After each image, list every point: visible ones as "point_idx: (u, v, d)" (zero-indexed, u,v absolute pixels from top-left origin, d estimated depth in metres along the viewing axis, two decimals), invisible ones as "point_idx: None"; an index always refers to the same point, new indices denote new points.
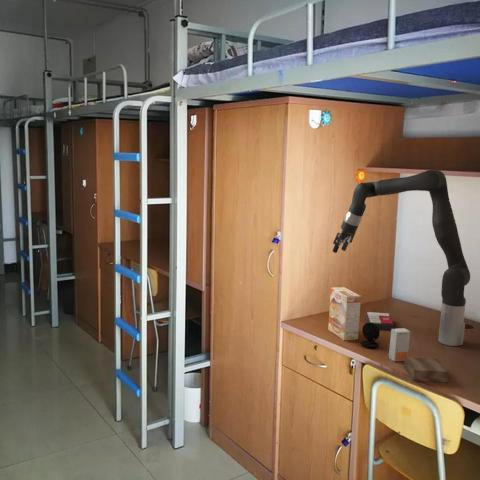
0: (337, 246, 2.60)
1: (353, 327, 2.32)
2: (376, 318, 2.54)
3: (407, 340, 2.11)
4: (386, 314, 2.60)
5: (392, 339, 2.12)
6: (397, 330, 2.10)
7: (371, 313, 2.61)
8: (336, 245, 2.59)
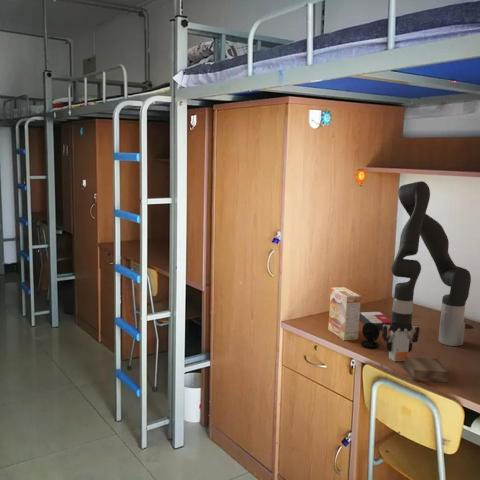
0: None
1: (353, 327, 2.32)
2: (374, 318, 2.54)
3: (407, 340, 2.10)
4: (379, 313, 2.62)
5: None
6: None
7: (365, 313, 2.60)
8: (412, 341, 2.12)
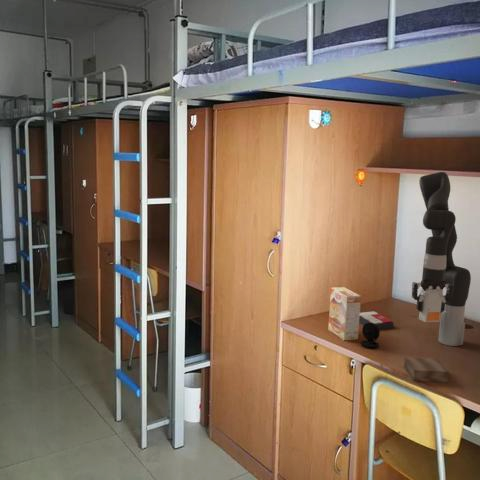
0: None
1: (353, 327, 2.32)
2: (373, 318, 2.54)
3: (439, 299, 1.94)
4: (374, 312, 2.62)
5: None
6: None
7: (362, 313, 2.59)
8: None
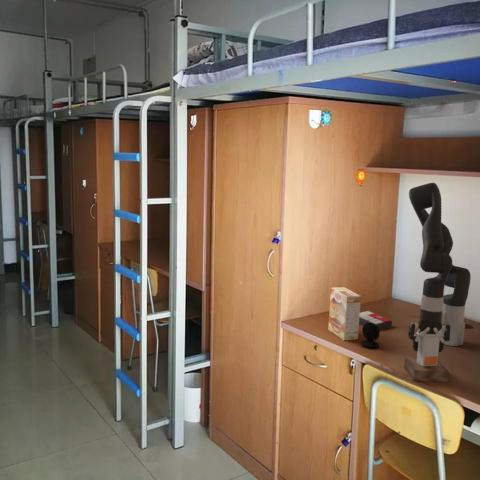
0: None
1: (353, 327, 2.32)
2: (372, 318, 2.53)
3: (436, 343, 1.96)
4: (369, 312, 2.62)
5: (421, 342, 1.97)
6: None
7: None
8: None
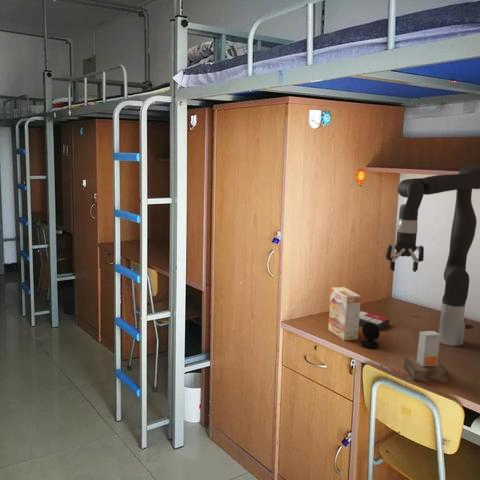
0: None
1: (353, 327, 2.32)
2: (371, 318, 2.53)
3: (436, 343, 1.96)
4: (363, 312, 2.61)
5: (421, 342, 1.97)
6: (426, 333, 1.96)
7: None
8: None
